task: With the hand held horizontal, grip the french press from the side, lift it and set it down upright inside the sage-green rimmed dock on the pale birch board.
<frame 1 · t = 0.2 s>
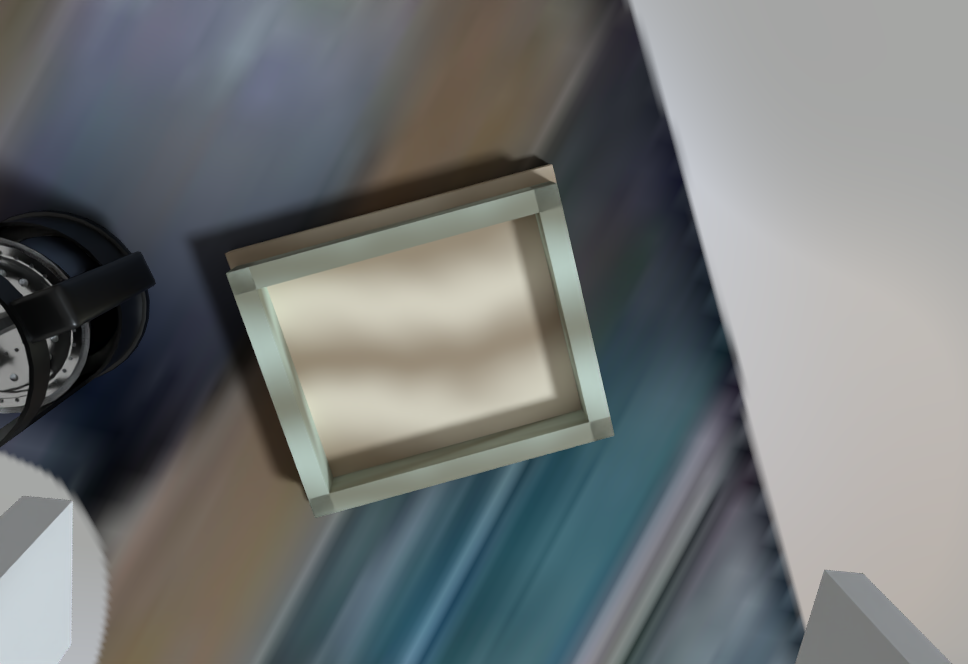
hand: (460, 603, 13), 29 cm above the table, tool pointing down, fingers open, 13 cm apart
french press: (71, 293, 40), on the table
dock: (429, 343, 42), on the table
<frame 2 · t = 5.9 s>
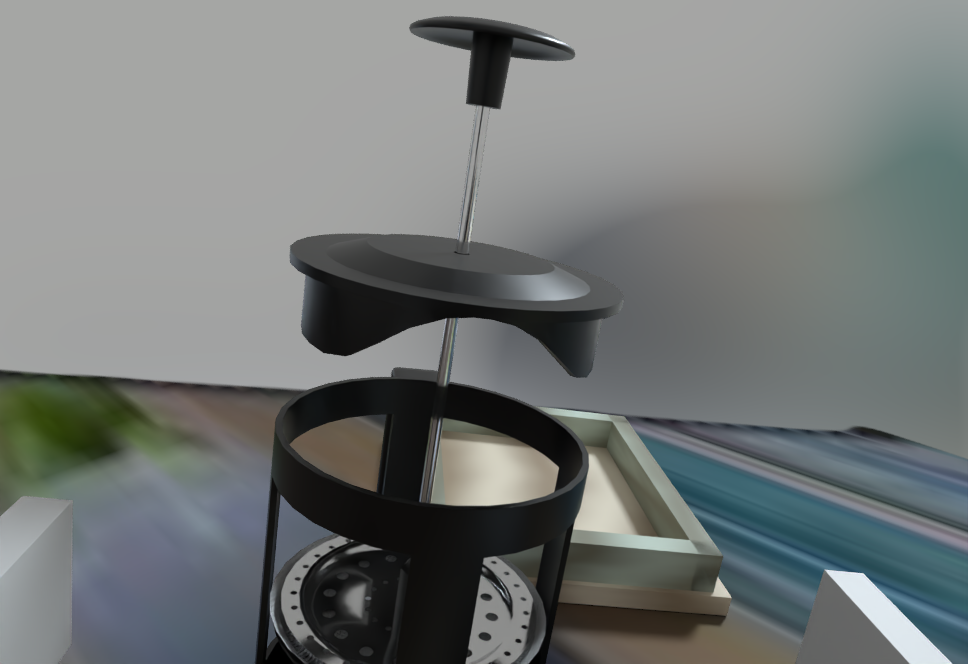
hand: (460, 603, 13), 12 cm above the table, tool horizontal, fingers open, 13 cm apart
dock: (536, 506, 43), on the table
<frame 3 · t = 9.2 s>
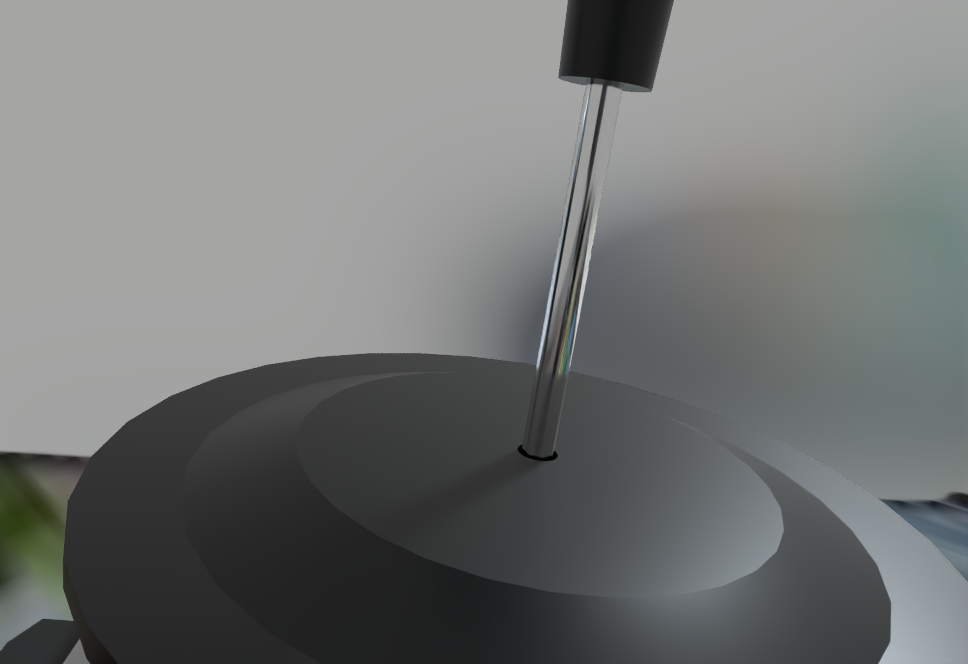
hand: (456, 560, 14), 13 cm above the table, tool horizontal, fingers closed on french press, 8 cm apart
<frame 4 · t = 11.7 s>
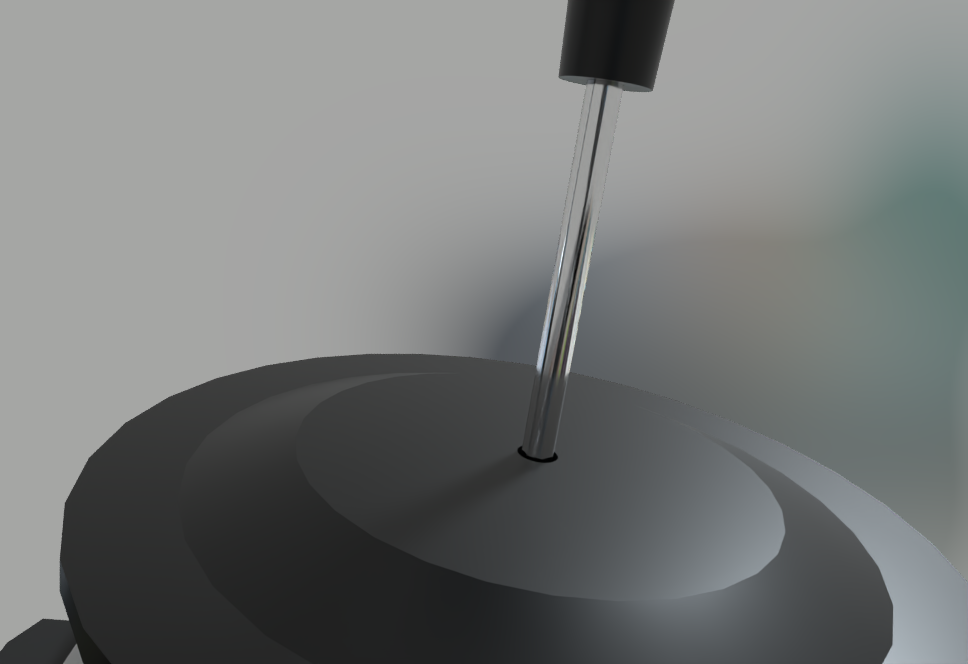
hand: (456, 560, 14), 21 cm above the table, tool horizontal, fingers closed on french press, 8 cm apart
when the fingers open (15 cm above the table, at t = 14.4 s): french press drops 1 cm, resting on dock.
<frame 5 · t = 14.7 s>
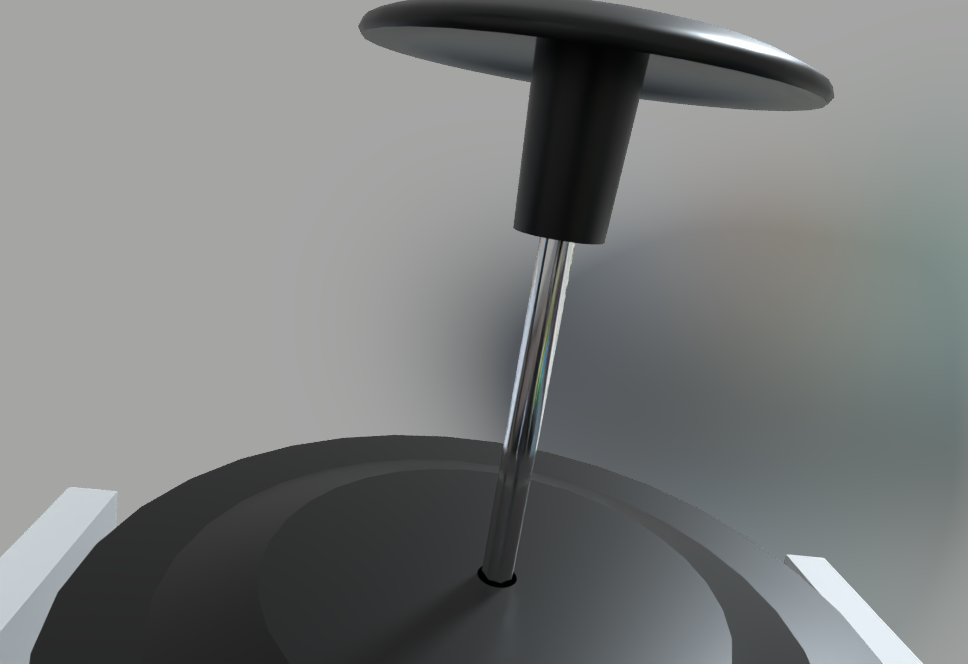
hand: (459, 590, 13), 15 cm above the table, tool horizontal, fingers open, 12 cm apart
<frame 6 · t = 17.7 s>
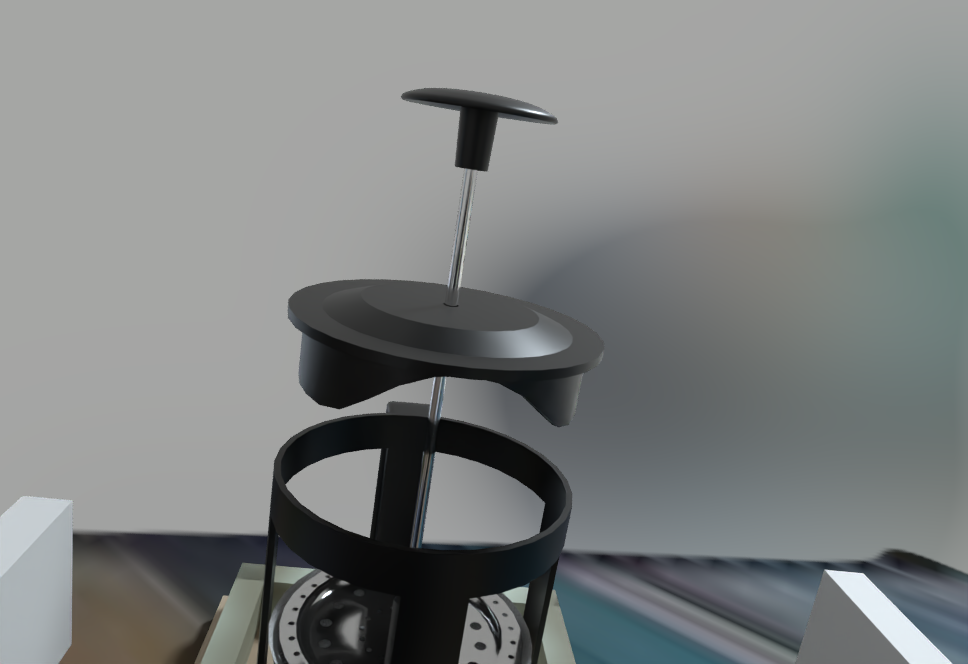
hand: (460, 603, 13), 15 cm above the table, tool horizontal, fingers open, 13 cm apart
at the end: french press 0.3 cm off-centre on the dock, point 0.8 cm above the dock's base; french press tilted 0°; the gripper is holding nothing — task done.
